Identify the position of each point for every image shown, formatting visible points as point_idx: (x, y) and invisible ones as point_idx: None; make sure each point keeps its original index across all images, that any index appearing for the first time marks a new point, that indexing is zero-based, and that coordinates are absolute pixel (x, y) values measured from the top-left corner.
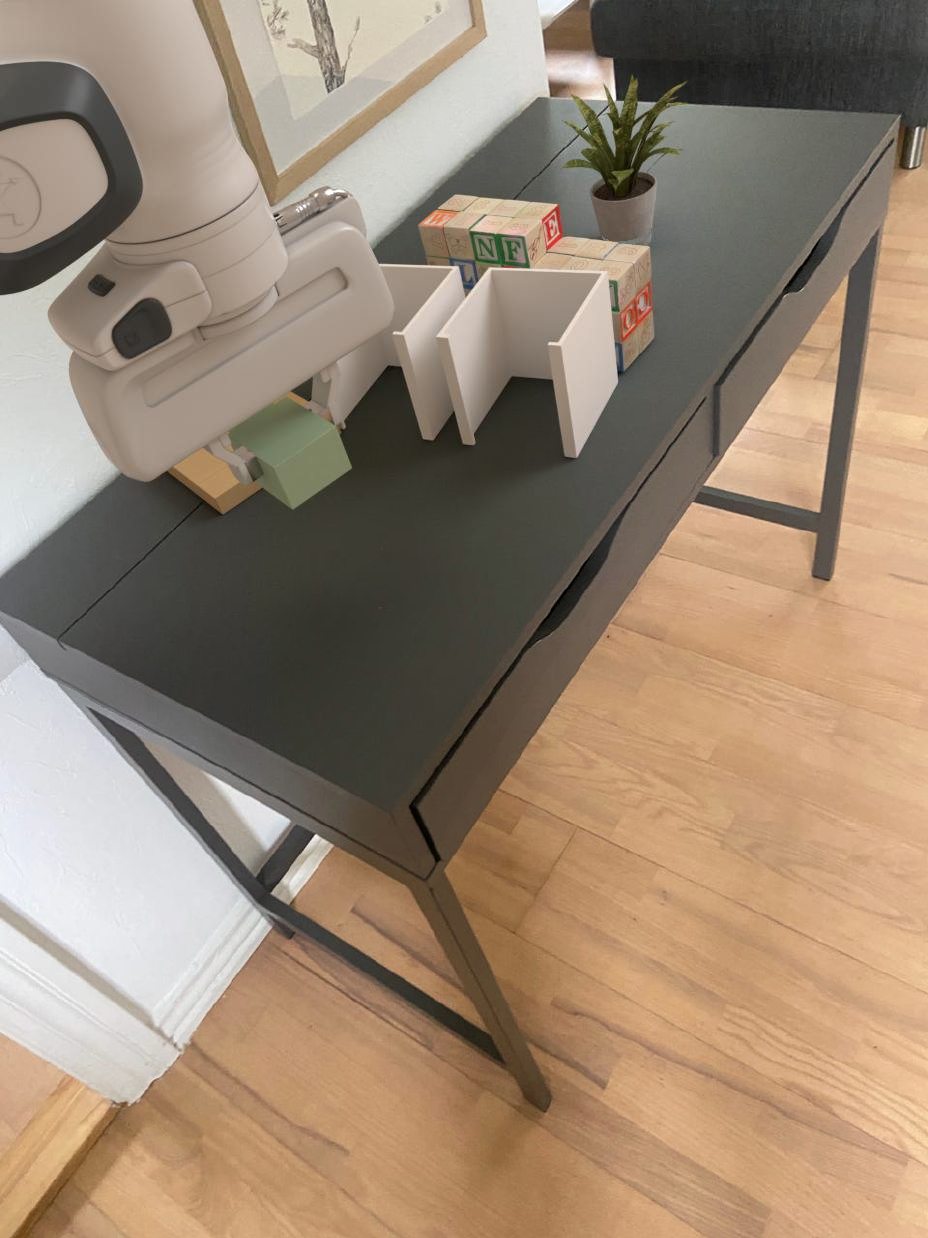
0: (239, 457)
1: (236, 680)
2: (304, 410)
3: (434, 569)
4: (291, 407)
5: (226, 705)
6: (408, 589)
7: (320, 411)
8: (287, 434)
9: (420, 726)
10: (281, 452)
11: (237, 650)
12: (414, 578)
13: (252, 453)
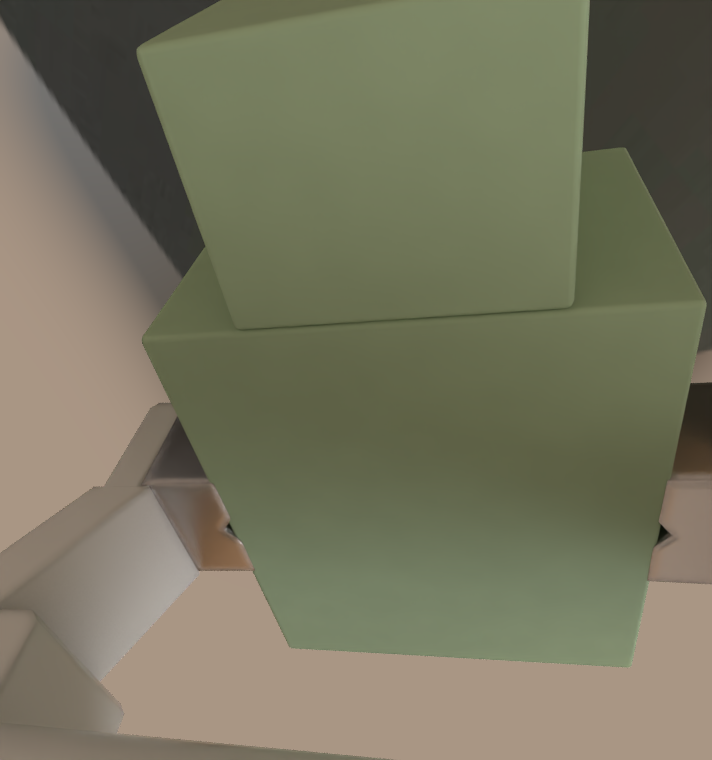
0: (168, 598)
1: (147, 100)
2: (637, 519)
3: (665, 133)
4: (614, 441)
5: (119, 148)
6: None
7: (682, 573)
8: (439, 574)
9: None
10: (354, 622)
11: (163, 7)
12: (612, 122)
13: (242, 551)
